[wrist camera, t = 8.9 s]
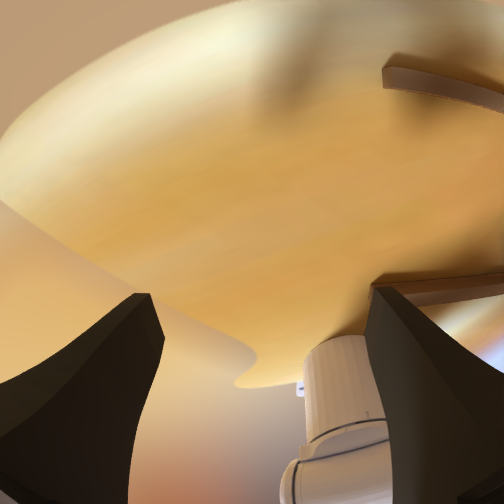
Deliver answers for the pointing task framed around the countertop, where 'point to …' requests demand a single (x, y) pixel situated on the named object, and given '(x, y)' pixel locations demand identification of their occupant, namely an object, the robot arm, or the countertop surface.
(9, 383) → the robot arm
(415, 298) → the frame
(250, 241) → the countertop surface
